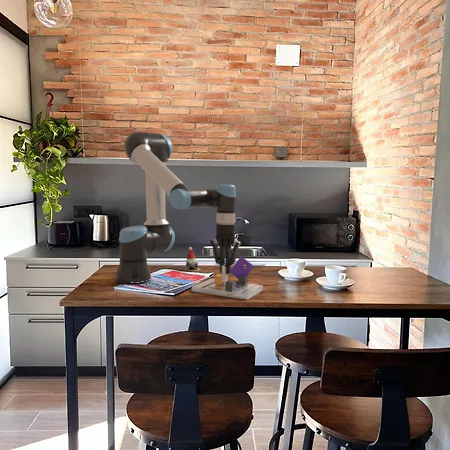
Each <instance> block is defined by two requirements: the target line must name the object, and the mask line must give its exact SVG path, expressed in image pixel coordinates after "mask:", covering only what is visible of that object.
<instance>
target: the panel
mask: <svg viewBox="0 0 450 450" xmlns="http://www.w3.org/2000/svg"><path fill="white" fill-rule="evenodd" d="M237 280H238V281H236V280H228V281H227V282H225V284H223V285H217V284H215V278H208V279H206V280H204V281H202V282H199V283H197V284H195V285H193V286H192V287H191V292H193V293H200V294H207V295H208V294H209V295H212V296H220V297H226V298H234V299H238V300H239V299H240V300H247V301H248V300H249V299H251V298H253V297H255V296H256V295H257V294H259V293H261V292H262V291H264V285H261V284H255V283H249V274H248V275H239V277H238V279H237Z"/></svg>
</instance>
